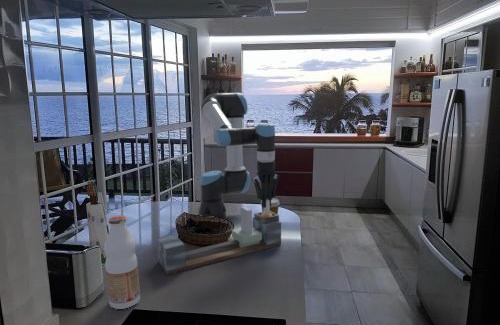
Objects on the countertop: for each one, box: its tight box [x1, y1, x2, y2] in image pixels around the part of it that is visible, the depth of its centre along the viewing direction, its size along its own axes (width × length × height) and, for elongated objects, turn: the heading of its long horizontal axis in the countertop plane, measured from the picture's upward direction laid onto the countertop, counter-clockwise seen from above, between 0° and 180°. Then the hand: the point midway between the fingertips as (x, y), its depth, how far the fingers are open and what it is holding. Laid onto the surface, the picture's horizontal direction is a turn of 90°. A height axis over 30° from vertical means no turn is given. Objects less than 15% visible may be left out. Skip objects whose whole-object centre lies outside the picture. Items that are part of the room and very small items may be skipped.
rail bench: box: [156, 211, 282, 275], centre depth 148 cm, size 12×50×12 cm, turn 120°
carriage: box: [231, 205, 262, 248], centre depth 153 cm, size 10×9×15 cm
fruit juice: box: [103, 215, 141, 310], centre depth 112 cm, size 9×9×28 cm
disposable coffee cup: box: [260, 197, 281, 215], centre depth 180 cm, size 10×10×12 cm
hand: (266, 214), depth 157 cm, fingers closed
